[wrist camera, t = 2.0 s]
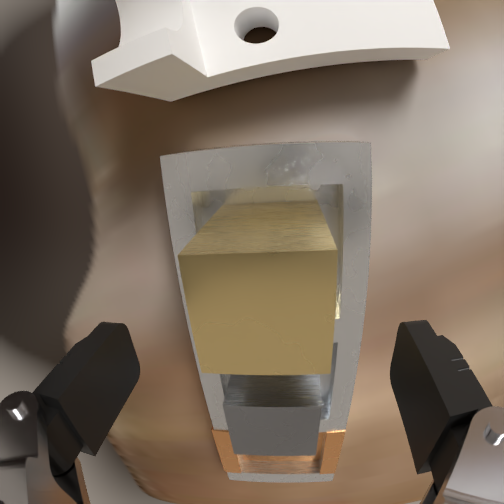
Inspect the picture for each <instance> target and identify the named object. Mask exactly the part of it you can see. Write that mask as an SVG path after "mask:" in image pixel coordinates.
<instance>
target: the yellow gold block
mask: <svg viewBox="0 0 504 504" xmlns="http://www.w3.org/2000/svg"><path fill="white" fill-rule="evenodd" d="M337 258H338V249H337V247H336V244H335V242H334V239H333V237H332V234H331V232H330V230H329V227H328V225H327V222H326V220H325V218H324V215H323V213H322V210H321V208H320V206H319V203H318V201H294V202H270V203H250V204H233V205H222V206H221V207H220V208H219V209H218V211H217V212H216V213H215V214H214V215H213V216H212V217H211V218H210V219H209V220H208V221H207V223H206V224H205V225H204V226H203V227H202V228H201V229H200V230H199V231H198V233H197V234H196V235H195V236H194V237H193V238H192V239H191V240H190V242H189V243H188V244H187V245H186V246H185V247H184V248H183V249H182V251H181V252H180V253H179V254H178V261H179V267H180V272H181V278H182V283H183V289H184V294H185V299H186V304H187V309H188V314H189V319H190V324H191V328H192V333H193V338H194V342H195V347H196V351H197V355H198V360H199V364H200V368H201V372H202V373H213V374H235V375H311V374H330V373H331V362H332V351H333V339H334V325H335V308H336V288H337Z"/></svg>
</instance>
